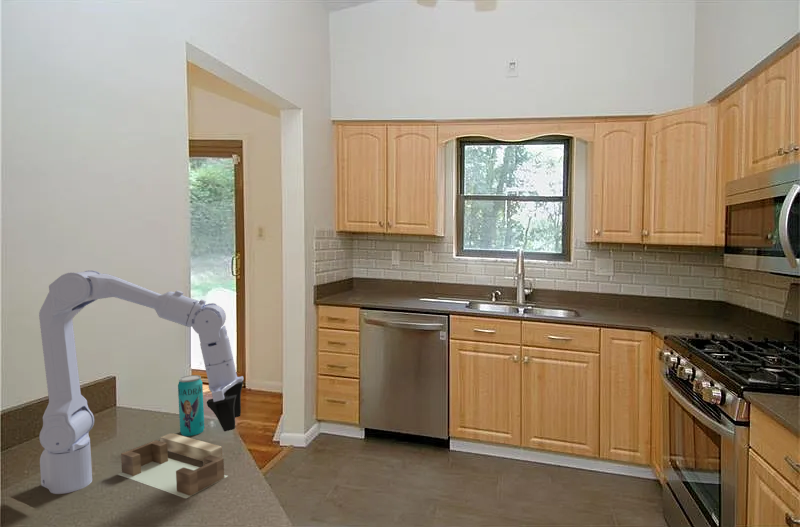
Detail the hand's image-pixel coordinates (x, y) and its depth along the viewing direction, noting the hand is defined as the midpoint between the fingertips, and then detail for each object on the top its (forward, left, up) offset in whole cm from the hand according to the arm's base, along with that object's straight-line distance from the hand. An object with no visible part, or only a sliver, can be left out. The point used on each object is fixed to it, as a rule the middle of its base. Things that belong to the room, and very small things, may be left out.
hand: (232, 423), depth 106 cm
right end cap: (0, -8, -10) cm, 13 cm away
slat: (-15, +1, -11) cm, 18 cm away
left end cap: (-18, -8, -10) cm, 22 cm away
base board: (-9, -8, -11) cm, 16 cm away
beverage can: (-26, +10, -11) cm, 30 cm away
